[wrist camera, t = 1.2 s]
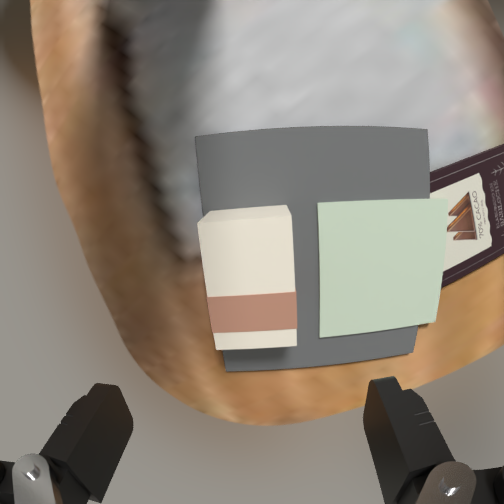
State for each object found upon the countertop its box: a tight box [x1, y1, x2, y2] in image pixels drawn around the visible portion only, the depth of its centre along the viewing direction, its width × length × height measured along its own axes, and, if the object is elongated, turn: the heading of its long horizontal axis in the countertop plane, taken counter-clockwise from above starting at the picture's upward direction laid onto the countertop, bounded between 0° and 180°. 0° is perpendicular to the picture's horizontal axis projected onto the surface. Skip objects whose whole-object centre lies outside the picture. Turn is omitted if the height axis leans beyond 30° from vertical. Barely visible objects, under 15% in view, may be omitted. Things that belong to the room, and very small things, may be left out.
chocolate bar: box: [430, 144, 504, 288], centre depth 20 cm, size 9×1×18 cm
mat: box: [195, 126, 448, 371], centre depth 21 cm, size 18×18×1 cm
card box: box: [197, 205, 297, 350], centre depth 19 cm, size 8×5×4 cm, turn 5°
